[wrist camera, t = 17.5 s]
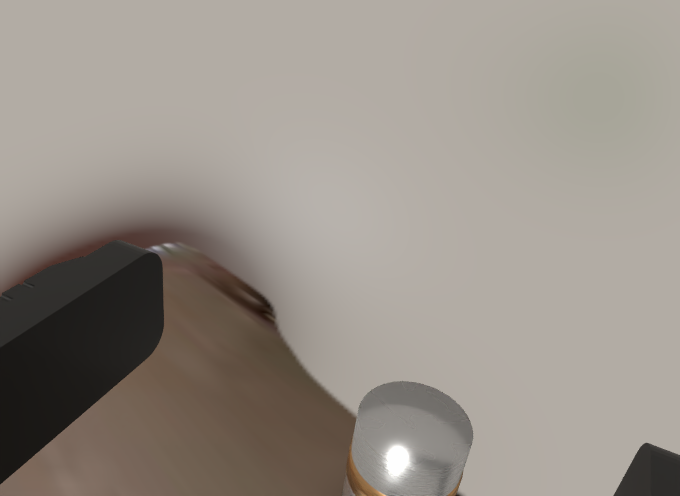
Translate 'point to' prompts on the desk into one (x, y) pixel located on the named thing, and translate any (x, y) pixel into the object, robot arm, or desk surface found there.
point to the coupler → (407, 443)
